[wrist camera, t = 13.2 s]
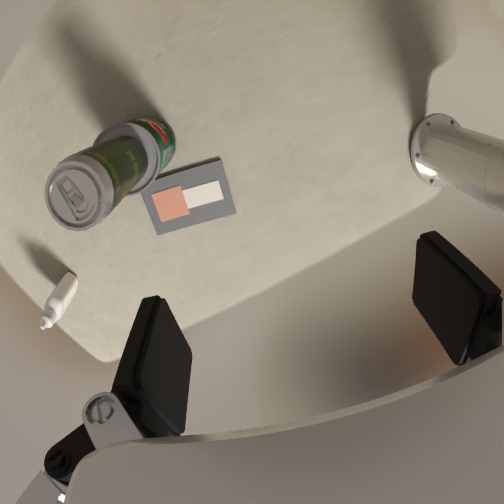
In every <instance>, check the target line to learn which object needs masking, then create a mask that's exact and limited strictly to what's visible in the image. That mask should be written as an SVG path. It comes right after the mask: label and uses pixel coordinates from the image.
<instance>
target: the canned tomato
mask: <svg viewBox="0 0 504 504" xmlns="http://www.w3.org/2000/svg"><path fill="white" fill-rule="evenodd" d="M118 136H130V137H133V138H135V139H136V140H138V141H139V142H140V143H141V144H142V145H143V146H144V148H145V150H146V152H147V156H148V166H147V171H146V173H145V175H144V177H143V178H142V179H141V180H140V181H139V182H138V183H137V184H136V185H135V186H134V187H133V188H132V189H131V191H130V192H129V193H128V194H127V195H126V196H132V195H136V194H138V193H140V192H142V191H144V190H145V189H146V188H148V187H149V186H150V185H151V184H152V182H153V181H154V180H155V178H156V177H157V176H158V175H159V174H160V172H161V171H162V170H163V169H164V168H165V167H166V166H167V165H168V163H169V162H170V161H171V160H172V158H173V156H174V153H175V151H176V138H175V134H174V132H173V130H172V128H171V127H170V126H169V125H168V124H167V123H166V122H165V121H163V120H161V119H159V118H156V117H143V118H139V119H135V120H131V121H126V122H122V123H117V124H114V125H111V126H109V127H108V128H106V129H105V130H103V131H102V132H101V133H100V134H99V135H98V137H97V138H96V140H95V141H94V144H93V146H94V145H96V144H99V143H101V142H104V141H106V140H109V139H111V138H114V137H118Z"/></svg>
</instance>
